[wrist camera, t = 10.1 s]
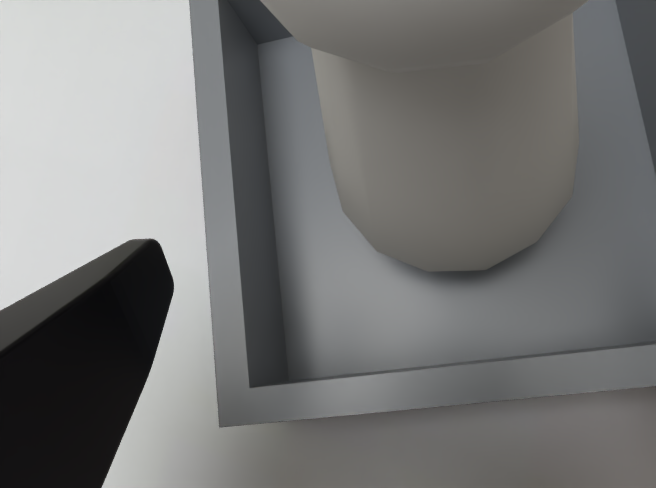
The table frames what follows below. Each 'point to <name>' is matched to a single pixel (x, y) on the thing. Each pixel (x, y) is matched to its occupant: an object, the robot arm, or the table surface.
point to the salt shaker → (445, 120)
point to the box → (404, 279)
